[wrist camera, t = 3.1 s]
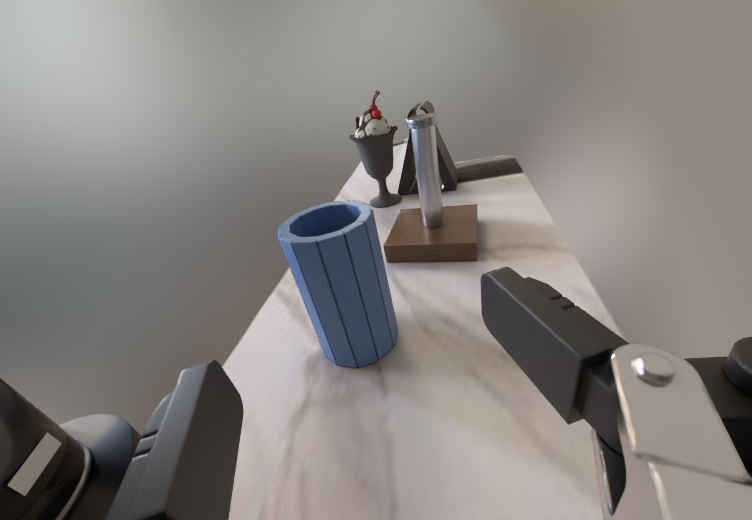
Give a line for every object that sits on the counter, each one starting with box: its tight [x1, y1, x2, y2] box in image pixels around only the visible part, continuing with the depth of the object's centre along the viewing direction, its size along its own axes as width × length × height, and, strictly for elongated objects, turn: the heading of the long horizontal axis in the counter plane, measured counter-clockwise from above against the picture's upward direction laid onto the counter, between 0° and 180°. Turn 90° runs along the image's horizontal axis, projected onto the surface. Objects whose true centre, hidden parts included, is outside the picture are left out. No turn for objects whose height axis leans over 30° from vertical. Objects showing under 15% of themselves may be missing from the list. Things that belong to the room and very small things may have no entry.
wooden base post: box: [384, 113, 477, 262], centre depth 31 cm, size 9×9×13 cm
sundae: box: [350, 91, 401, 207], centre depth 44 cm, size 7×7×15 cm
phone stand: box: [398, 101, 458, 195], centre depth 47 cm, size 9×6×12 cm, turn 74°
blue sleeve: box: [278, 200, 398, 368], centre depth 21 cm, size 6×6×10 cm
